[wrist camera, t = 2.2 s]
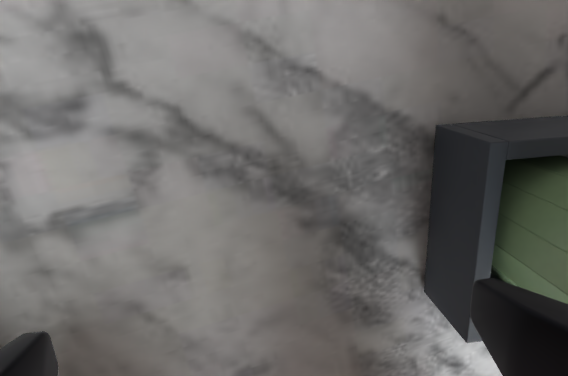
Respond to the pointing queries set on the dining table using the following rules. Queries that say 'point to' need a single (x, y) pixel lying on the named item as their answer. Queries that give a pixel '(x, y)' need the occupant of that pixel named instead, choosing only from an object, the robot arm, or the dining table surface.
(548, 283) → the green cup
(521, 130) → the cup holder
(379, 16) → the dining table surface
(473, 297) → the robot arm
